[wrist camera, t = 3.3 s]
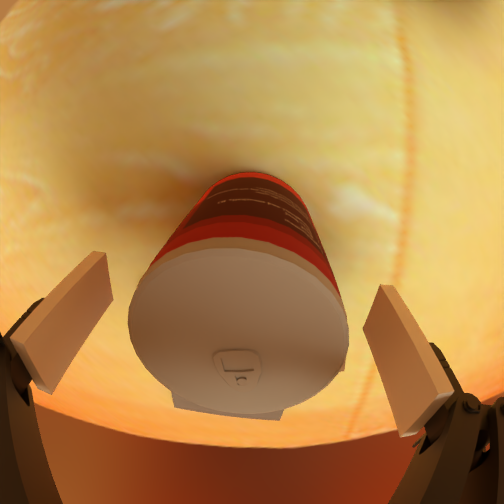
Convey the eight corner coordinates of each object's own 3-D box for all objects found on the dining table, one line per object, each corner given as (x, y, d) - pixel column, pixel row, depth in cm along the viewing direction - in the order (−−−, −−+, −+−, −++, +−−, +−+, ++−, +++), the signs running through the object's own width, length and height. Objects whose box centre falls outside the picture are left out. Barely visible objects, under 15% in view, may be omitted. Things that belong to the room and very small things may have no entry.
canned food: (226, 293, 21) (199, 424, 11) (174, 198, 18) (82, 294, 8) (325, 259, 19) (366, 390, 10) (284, 150, 16) (311, 202, 6)
